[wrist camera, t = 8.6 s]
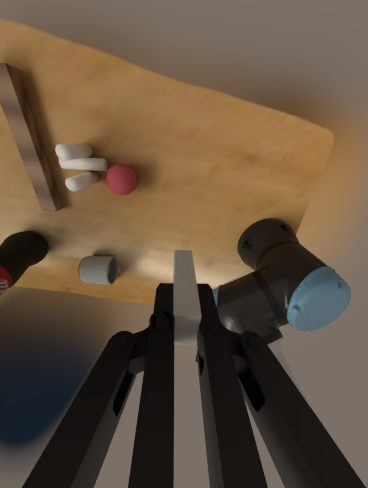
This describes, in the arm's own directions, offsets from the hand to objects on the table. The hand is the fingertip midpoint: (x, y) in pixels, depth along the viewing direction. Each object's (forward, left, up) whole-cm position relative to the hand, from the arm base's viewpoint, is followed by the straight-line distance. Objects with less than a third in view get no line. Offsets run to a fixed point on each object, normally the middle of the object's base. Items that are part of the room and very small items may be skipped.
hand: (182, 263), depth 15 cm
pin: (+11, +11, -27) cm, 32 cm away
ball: (+8, +9, -25) cm, 28 cm away
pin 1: (+15, +13, -28) cm, 35 cm away
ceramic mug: (-10, +29, -29) cm, 42 cm away
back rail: (+20, +22, -28) cm, 41 cm away
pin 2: (+11, +15, -28) cm, 34 cm away
